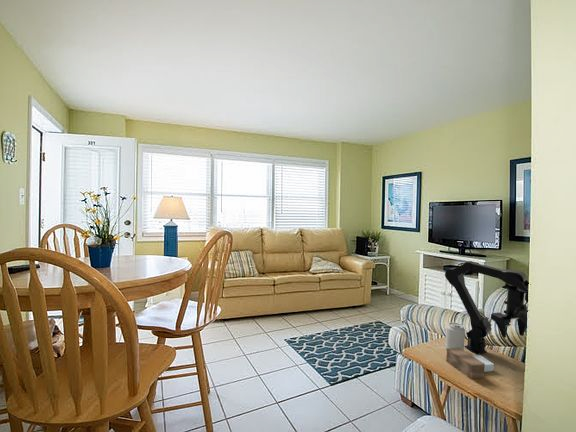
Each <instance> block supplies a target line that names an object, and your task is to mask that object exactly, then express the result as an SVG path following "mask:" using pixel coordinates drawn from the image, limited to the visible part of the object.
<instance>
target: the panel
mask: <svg viewBox="0 0 576 432" xmlns="http://www.w3.org/2000/svg"><path fill="white" fill-rule="evenodd" d="M472 356H473V357H475V358H476V359H478V360H479V361H481V362H483V363H484V364H485V368H484V373H485V372H493V371H494V366H495V363H493V362H491V361H490V360H488V359H487V358H485V357H483V356H482V355H480V354H476V355H475V354H474V355H472Z"/></svg>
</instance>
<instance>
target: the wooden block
mask: <svg viewBox="0 0 576 432" xmlns="http://www.w3.org/2000/svg"><path fill="white" fill-rule="evenodd" d="M473 356H474V355H471V354H470V353H468V352H467V351H465V349H464V350H462V349H460V348H459V347H458V348H450V349H447V348H446V360H445V361H446V362H447V363H448V364H449V365H451V366H452V367H454V368H455V369H456V370H458V371H459V372H461V373H462V374H463V375H465V376H466V377H467V378H469V379H470V380H475V379H480V378H484V377H485V372H484V368H485V364H484V363H483V362H481V361H479V360H478V359H476V358H475V357H473Z"/></svg>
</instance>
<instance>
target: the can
mask: <svg viewBox="0 0 576 432" xmlns="http://www.w3.org/2000/svg"><path fill="white" fill-rule="evenodd" d="M464 327H465V326H464V325H463V324H461V323H458V322H453V321H452V322H451V321H450V322H448V324H447V325H446V329H445V330H446V331H445V341H444V342H445V344H444V346H445V349H446V350H447V349H450V348H458V347H459V348H460V349H462V350H464V351H465V337H466V335H465V333H466V329H465V328H464Z"/></svg>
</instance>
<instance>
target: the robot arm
mask: <svg viewBox="0 0 576 432" xmlns="http://www.w3.org/2000/svg"><path fill="white" fill-rule="evenodd" d="M468 272H474V273H477V274H480V275H485V276H488V277H492V278H495V279H498V280H500V281H502V282H504V283H506V284H505V285H503V286H502V287H501V288H502V289H504V290H505V289H506V290H507V292H506V293H507V295H506V296H507V297H506V300H505V301H504V303H503V304H504V305H506V310H505V309H504V310H503V313H502V312H493V313H491V314H490V319H491V320H492V321H493V322H495V324H496V326H497V327H498V330H499V332H500V334H501V336H502V337H503V338H504V339H505V338H506V337H507V334H508V333H507V332H508V328H509V327H510V326H511V324H510V323H511V322H512V320H516V321H517V329H518V333H519V336H522V337H523V336H524V335H525V332H526V331H527V329H528V327H527V312H528V311H529V309H528V306H527V304H524V303H525V302H526V303H528V284H529V283H530V282H529V280H528V277H527V274H525V272H524V271H522V270H514V269H501V268H497V267H494V266H489V265H487V264H482V263H478V262H474V261H472V260H468V261H465V262H464V263H462V264H461V265H458V266H457V267H451V268H449V269H447V270H446V271H445V272H444V277H445V278H446V280H447V281H448V283H449V284H450V285H451V286H452V287H453V288H454V289H455V291H456V292H457V295H458V296H459V299H460V301H461V302H462V304H463V307H464V309H465V311H466V313H467V314H468V317H469V320H470V321H469V322H470V327H471V329H470V330H469V331H467V332H465V333H466V337H467V345H464V349H465V348H466V349H467V350H469V351H471V352H473V353H474V354H476V355H479V354H483V353H487V350H486V340H485V337H487V336H488V335H489V334H491V332H492V329H493V328H492V323H490V320H489V318H488V316H485V317H484V316H483V315H482V314H481V313H480V310H479V309H478V307H477V305H476V303H475V301H474V299H473V297H472V296H471V294H470V292H469V290H468V287H467V285H466V282H465V276H464V274H466V273H468Z"/></svg>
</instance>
